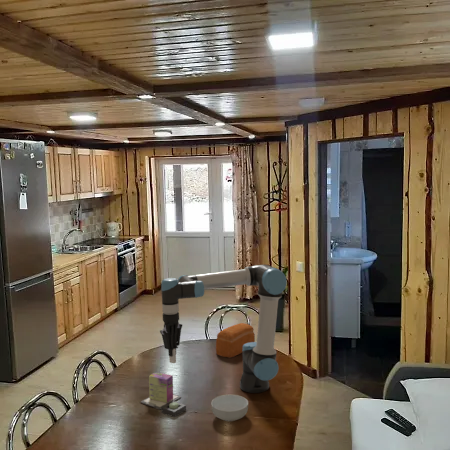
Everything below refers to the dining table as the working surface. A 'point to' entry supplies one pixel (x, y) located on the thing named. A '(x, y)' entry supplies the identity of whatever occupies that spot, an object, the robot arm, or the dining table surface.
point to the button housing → (175, 412)
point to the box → (161, 387)
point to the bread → (234, 339)
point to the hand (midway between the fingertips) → (172, 362)
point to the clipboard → (158, 402)
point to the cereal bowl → (229, 407)
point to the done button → (173, 405)
